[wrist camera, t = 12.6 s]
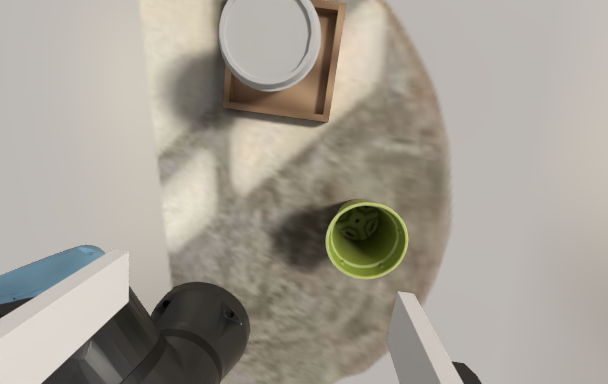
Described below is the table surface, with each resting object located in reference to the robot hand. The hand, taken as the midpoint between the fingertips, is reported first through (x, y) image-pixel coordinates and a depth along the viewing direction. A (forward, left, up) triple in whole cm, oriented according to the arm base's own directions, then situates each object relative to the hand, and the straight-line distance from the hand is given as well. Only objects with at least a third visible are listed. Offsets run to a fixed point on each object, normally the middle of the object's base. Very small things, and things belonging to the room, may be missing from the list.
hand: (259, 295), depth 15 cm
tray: (+16, +4, -29) cm, 33 cm away
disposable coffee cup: (+15, +4, -28) cm, 32 cm away
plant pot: (-4, -9, -29) cm, 31 cm away
